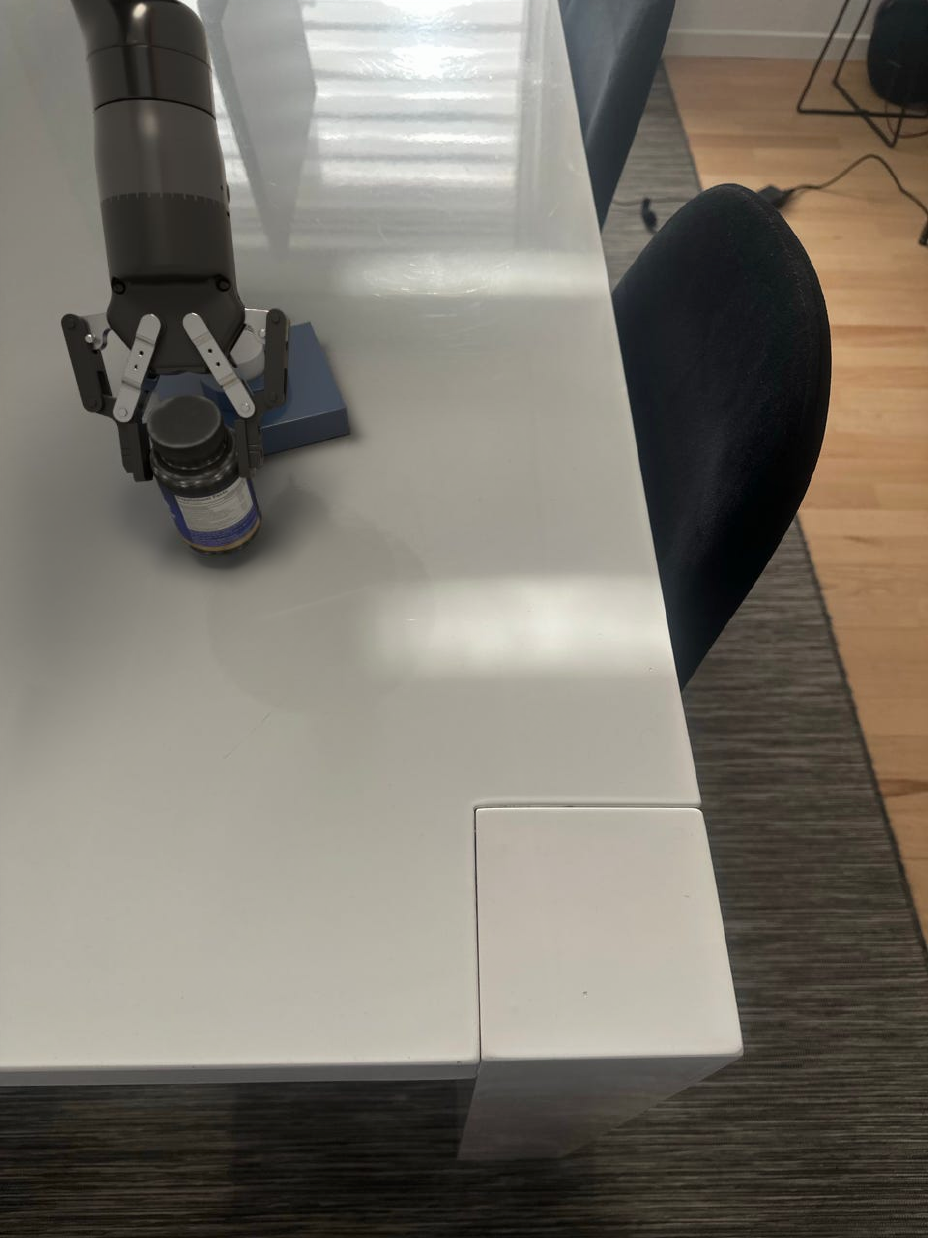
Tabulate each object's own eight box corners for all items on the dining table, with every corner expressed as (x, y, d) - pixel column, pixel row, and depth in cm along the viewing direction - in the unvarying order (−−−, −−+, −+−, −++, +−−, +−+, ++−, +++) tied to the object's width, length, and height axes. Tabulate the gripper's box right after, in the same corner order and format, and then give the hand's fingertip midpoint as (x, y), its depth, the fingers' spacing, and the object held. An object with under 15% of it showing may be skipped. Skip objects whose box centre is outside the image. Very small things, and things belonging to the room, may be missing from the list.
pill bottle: (182, 496, 63) (138, 386, 54) (263, 490, 64) (234, 381, 54) (177, 562, 60) (129, 458, 51) (262, 556, 61) (231, 452, 51)
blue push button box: (181, 476, 67) (164, 431, 62) (157, 384, 72) (139, 337, 68) (350, 433, 70) (344, 388, 65) (314, 348, 75) (307, 301, 71)
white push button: (222, 389, 65) (216, 368, 64) (211, 356, 67) (205, 335, 66) (272, 377, 66) (267, 357, 64) (260, 345, 68) (255, 324, 66)
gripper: (17, 188, 47) (62, 488, 51) (275, 183, 48) (300, 478, 52) (67, 218, 54) (104, 479, 58) (291, 214, 55) (311, 470, 59)
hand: (196, 477), depth 55 cm, fingers closed on pill bottle, 6 cm apart
